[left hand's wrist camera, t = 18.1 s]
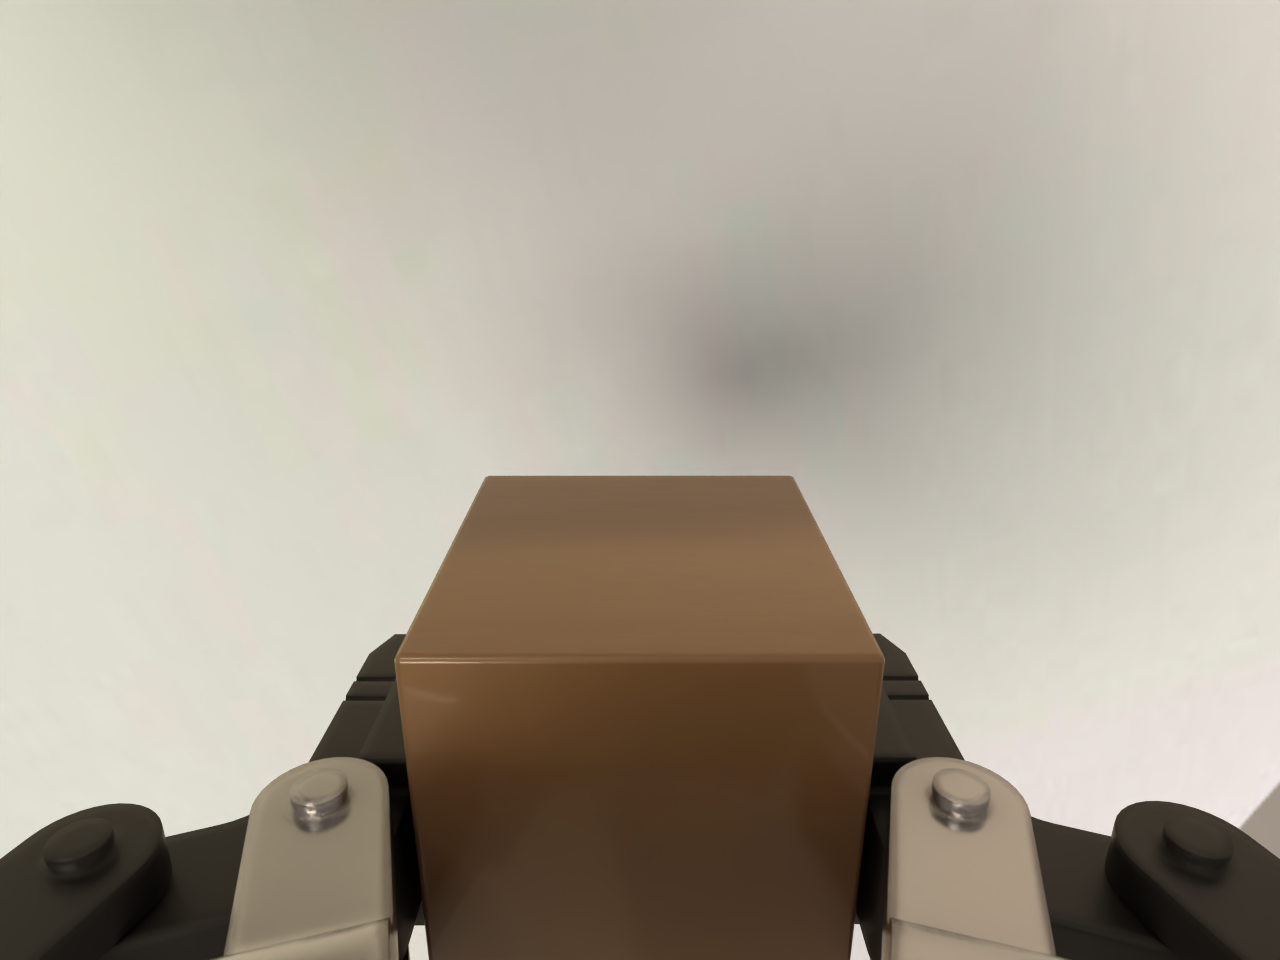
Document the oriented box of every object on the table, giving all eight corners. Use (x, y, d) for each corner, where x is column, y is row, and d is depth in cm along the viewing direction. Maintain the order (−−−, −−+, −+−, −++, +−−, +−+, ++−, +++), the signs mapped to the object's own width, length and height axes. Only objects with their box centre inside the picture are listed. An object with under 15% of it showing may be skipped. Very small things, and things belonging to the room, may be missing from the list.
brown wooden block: (484, 474, 12) (391, 657, 7) (793, 474, 12) (888, 657, 7) (504, 772, 14) (438, 1066, 9) (774, 771, 14) (839, 1065, 9)
